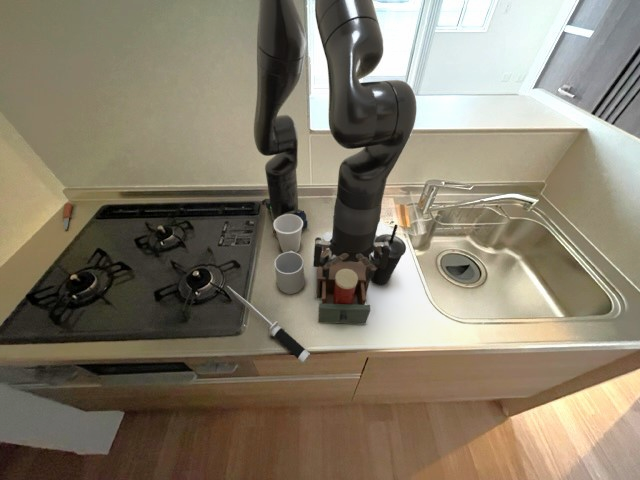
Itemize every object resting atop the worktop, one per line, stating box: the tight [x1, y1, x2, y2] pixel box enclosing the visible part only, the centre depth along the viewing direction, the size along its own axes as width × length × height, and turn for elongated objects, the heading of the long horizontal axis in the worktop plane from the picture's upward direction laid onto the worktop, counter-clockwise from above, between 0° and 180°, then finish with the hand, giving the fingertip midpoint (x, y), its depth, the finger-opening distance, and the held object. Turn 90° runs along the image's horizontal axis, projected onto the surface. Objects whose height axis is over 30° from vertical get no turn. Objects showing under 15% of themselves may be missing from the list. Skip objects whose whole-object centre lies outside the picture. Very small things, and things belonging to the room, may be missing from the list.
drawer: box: [317, 281, 371, 325], centre depth 61 cm, size 10×11×7 cm
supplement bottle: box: [321, 231, 333, 250], centre depth 73 cm, size 5×5×10 cm
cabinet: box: [316, 249, 371, 299], centre depth 67 cm, size 10×13×9 cm
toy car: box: [272, 209, 308, 239], centre depth 82 cm, size 6×12×6 cm
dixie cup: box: [272, 214, 303, 253], centre depth 76 cm, size 8×8×10 cm
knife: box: [227, 285, 311, 364], centre depth 59 cm, size 26×2×5 cm, turn 52°
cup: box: [274, 251, 305, 295], centre depth 68 cm, size 7×10×9 cm
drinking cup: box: [370, 224, 407, 287], centre depth 65 cm, size 8×8×20 cm
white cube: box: [374, 221, 397, 241], centre depth 79 cm, size 6×6×6 cm
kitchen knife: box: [62, 202, 73, 230], centre depth 86 cm, size 16×1×2 cm
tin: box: [333, 269, 358, 304], centre depth 59 cm, size 5×5×12 cm
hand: (347, 276), depth 54 cm, fingers open, 8 cm apart
